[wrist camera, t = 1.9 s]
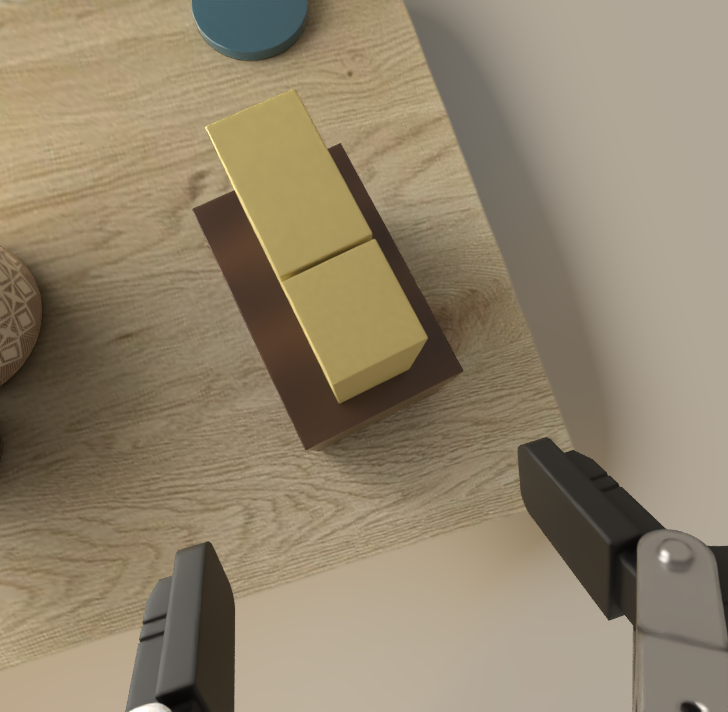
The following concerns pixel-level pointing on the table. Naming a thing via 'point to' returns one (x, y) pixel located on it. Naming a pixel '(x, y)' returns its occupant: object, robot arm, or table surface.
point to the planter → (17, 314)
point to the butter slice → (356, 319)
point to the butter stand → (286, 337)
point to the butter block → (288, 185)
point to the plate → (251, 25)
